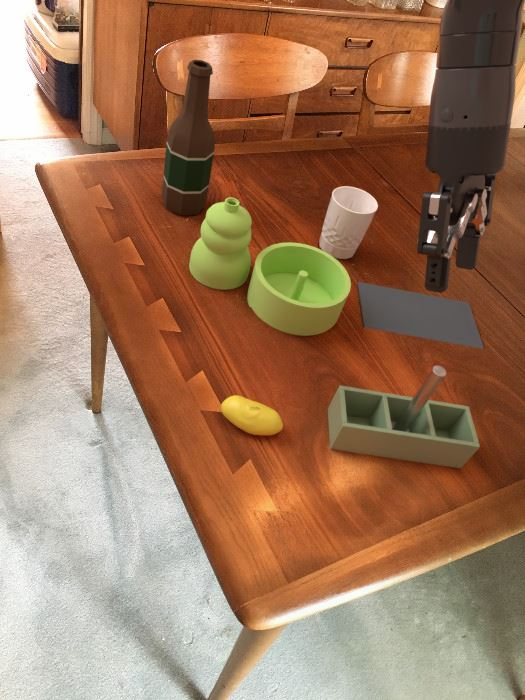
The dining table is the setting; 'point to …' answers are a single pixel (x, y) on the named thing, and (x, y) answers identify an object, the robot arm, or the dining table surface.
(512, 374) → the dining table surface
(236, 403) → the yellow potato
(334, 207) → the white cup
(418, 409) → the metal rod stand
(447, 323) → the mat
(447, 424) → the caddy
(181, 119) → the beer bottle
